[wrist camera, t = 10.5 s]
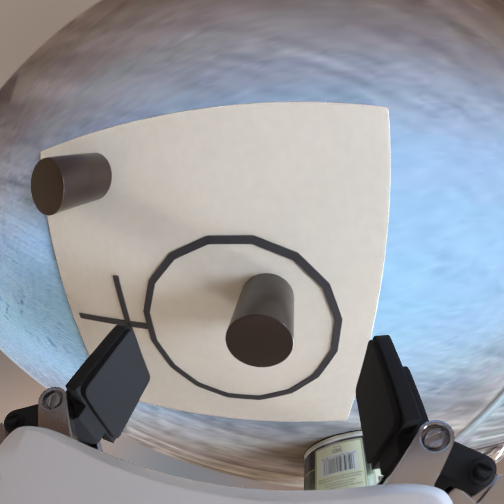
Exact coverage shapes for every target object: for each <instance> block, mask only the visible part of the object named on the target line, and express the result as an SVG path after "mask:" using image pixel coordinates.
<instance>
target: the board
mask: <svg viewBox="0 0 504 504" xmlns="http://www.w3.org/2000/svg"><path fill="white" fill-rule="evenodd" d="M83 153H99V154H102V155H103V156H104V157H105V158H106V159H107V160H108V162H109V164H110V167H111V171H112V181H111V185H110V188H109V190H108V192H107V193H106V195H105V196H104V197H102V198H101V199H99V200H96V201H92V202H89V203H86V204H83V205H80V206H77V207H74V208H71V209H68V210H65V211H62V212H60V213H57V214H54V215H51V216H48V215H47V218H48V224H49V229H50V234H51V239H52V243H53V248H54V252H55V256H56V260H57V264H58V268H59V272H60V276H61V279H62V282H63V286H64V289H65V292H66V296H67V299H68V302H69V305H70V308H71V310H72V313H73V316H74V319H75V322H76V324H77V327H78V329H79V332H80V334H81V337H82V339H83V342H84V344H85V347H86V349H87V351H88V353H89V356H90V355H91V354H92V352H93V351H94V350H95V349H96V348H97V347H98V345H99V344H100V343H101V342H102V341H103V339H104V338H105V337H106V336H107V335H108V334H109V332H110V331H111V330H112V329H113V328H114V327H115V326H116V325H124V326H129V327H130V328H131V330H133V331H134V333H135V336H136V339H137V341H138V344H139V347H140V350H141V353H142V356H143V358H144V361H145V364H146V366H147V369H148V371H149V374H150V381H149V383H148V385H147V387H146V389H145V390H144V392H143V394H142V396H141V398H140V400H139V401H141V402H144V403H148V404H153V405H157V406H161V407H166V408H171V409H176V410H181V411H186V412H192V413H198V414H204V415H211V416H219V417H227V418H236V419H247V420H261V421H283V422H318V421H340V420H347V419H348V416H349V413H350V410H351V407H352V404H353V401H354V398H355V395H356V385H357V382H358V379H359V375H360V372H361V368H362V364H363V361H364V357H365V353H366V349H367V345H368V342H369V340H370V339H371V335H372V330H373V325H374V321H375V316H376V310H377V305H378V299H379V294H380V288H381V281H382V274H383V267H384V259H385V251H386V241H387V231H388V218H389V202H390V127H389V111H388V107H382V106H373V105H364V104H352V103H336V102H264V103H248V104H236V105H225V106H216V107H208V108H201V109H194V110H187V111H181V112H176V113H170V114H165V115H160V116H155V117H150V118H146V119H141V120H137V121H133V122H129V123H125V124H121V125H117V126H113V127H110V128H106V129H103V130H99V131H96V132H93V133H90V134H87V135H84V136H80V137H78V138H75V139H72V140H69V141H66V142H63V143H61V144H58V145H55V146H53V147H50V148H48V149H45V150H43V151H41V152H40V155H41V159H43V158H46V157H54V156H62V155H72V154H83ZM263 273H270V274H275V275H278V276H280V277H282V278H283V279H285V280H286V281H287V282H288V283H289V284H290V286H291V288H292V290H293V293H294V346H293V350H292V352H291V354H290V355H289V356H288V357H287V359H285V360H284V361H283V362H281V363H279V364H277V365H274V366H271V367H254V366H250V365H247V364H244V363H242V362H240V361H239V360H237V359H236V358H235V357H234V356H233V355H232V354H231V353H230V351H229V350H228V348H227V345H226V341H225V336H226V332H227V329H228V326H229V323H230V321H231V318H232V315H233V312H234V310H235V307H236V304H237V301H238V299H239V296H240V293H241V291H242V288H243V286H244V284H245V283H246V282H247V281H248V280H249V279H250V278H252V277H253V276H255V275H258V274H263Z"/></svg>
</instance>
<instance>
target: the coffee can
mask: <svg viewBox="0 0 504 504" xmlns="http://www.w3.org/2000/svg"><path fill="white" fill-rule="evenodd" d="M304 461H305V469H304V470H305V474H304V490H331V489H344V488H354V487H364V486H373V485H376V484H377V483H378V482H379V480H380V479H381V478H382V476H383V475H381V472H380V469H374V470H372V467H371V464H368V463H367V462H366V455H365V448H364V441H363V434H362V431H354V432H349V433H344V434H340V435H337V436H333V437H330V438H327V439H325V440H323V441H321V442H319V443H316V444H315V445H314V446H312V447H311V448H309V449H308V450H307V452H306V453H305V455H304Z"/></svg>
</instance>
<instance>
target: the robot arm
mask: <svg viewBox="0 0 504 504" xmlns="http://www.w3.org/2000/svg"><path fill="white" fill-rule="evenodd" d="M149 381H150V374H149V371H148V369H147V366H146V364H145V361H144V358H143V356H142V353H141V350H140V347H139V344H138V341H137V339H136V336H135V333H134V331H133V330H131V328H130V327H129V326H124V325H116V326H115V327H114V328H113V329H112V330H111V331H110V332H109V334H108V335H107V336H106V337H105V338H104V339H103V341H102V342H101V343H100V344H99V345H98V347H97V348H96V349H95V350H94V351H93V352H92V354H91V355H90V356H89V357H88V359H87V360H86V361H85V362H84V363H83V365H82V366H81V367H80V368H79V370H78V371H77V372H76V373H75V374H74V376H73V377H72V378H71V380H70V381H69V382H68V383H67V385H66V388H67V389H68V390H67V391H66V392H65V391H64V390H63V389H62V388H60V387H51V388H49V389H47V390H45V391H44V392H43V393H42V394H41V396H40V398H39V402H38V404H37V405H33V406H30V407H25V408H21V409H18V410H14V411H12V412H10V413H9V414H8V415H7V416H6V418H5V420H4V424H3V423H0V504H504V476H503V475H502V474H500V475H499V476H498V475H497V474H496V464H495V462H494V460H493V459H492V458H491V457H489V456H487V455H485V454H482V453H480V452H478V451H475V450H473V449H471V448H468V447H466V446H464V445H462V444H460V443H457V442H455V441H454V439H455V437H454V432H453V430H452V428H451V427H450V426H449V425H448V424H447V423H445V422H443V421H439V420H431V421H429V420H428V417H427V414H426V411H425V409H424V406H423V403H422V400H421V398H420V395H419V393H418V390H417V387H416V385H415V382H414V380H413V377H412V375H411V373H410V370H409V369H408V367H406V366H405V367H403V366H402V364H401V361H400V359H399V357H398V354H397V352H396V349H395V347H394V345H393V343H392V340H391V338H390V336H389V335H382V336H374V338H373V340H369V342H368V345H367V349H366V353H365V357H364V361H363V364H362V368H361V372H360V375H359V379H358V382H357V385H356V399H357V404H358V410H359V416H360V422H361V428H362V434H363V441H364V448H365V455H366V462H367V463H368V464H371V467H372V470H374V469H380V472H381V475H383V476H382V478H381V479H380V480H379V482H378V483H377V484H376V485H373V486H364V487H354V488H344V489H331V490H304V491H285V490H262V489H249V488H240V487H232V486H224V485H218V484H211V483H206V482H201V481H196V480H191V479H186V478H182V477H178V476H173V475H170V474H165V473H162V472H159V471H155V470H152V469H148V468H145V467H142V466H139V465H136V464H133V463H130V462H127V461H125V460H122V459H119V458H116V457H114V456H111V455H109V454H106V453H104V452H103V451H102V447H101V444H100V440H101V438H103V439H105V440H107V441H110V442H112V443H113V442H114V441H115V439H116V438H118V437H119V436H120V435H121V433H122V431H123V429H124V427H125V426H126V424H127V422H128V420H129V418H130V416H131V414H132V412H133V411H134V409H135V407H136V405H137V403H138V401H139V400H140V398H141V396H142V394H143V392H144V390H145V389H146V387H147V385H148V383H149Z"/></svg>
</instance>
